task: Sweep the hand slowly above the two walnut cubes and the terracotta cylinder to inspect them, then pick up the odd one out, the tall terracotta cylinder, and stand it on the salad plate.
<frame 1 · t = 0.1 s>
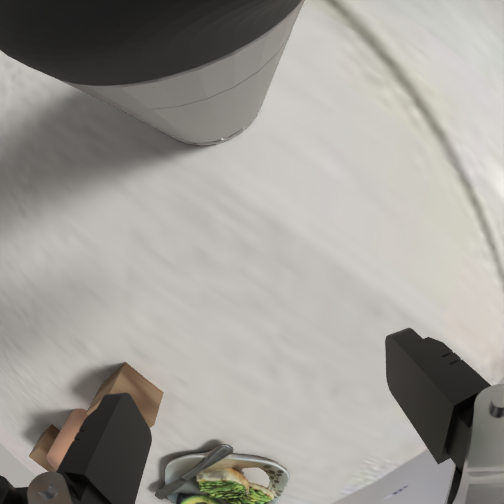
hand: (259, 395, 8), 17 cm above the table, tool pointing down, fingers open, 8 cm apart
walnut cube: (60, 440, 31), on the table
terracotta cylinder: (87, 423, 30), on the table
salad plate: (221, 482, 34), on the table
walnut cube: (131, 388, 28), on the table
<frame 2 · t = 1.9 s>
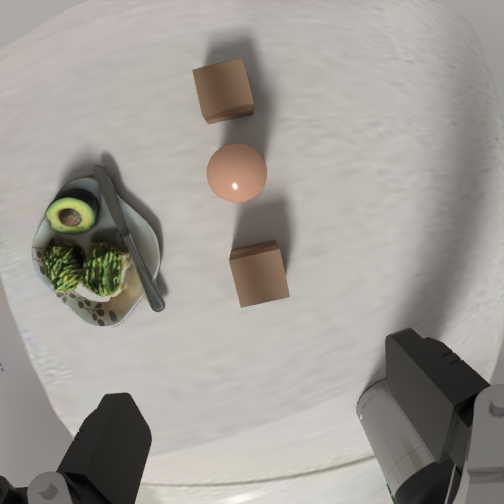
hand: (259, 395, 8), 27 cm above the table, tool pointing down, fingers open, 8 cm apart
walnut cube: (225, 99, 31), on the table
terracotta cylinder: (238, 175, 33), on the table
salad plate: (93, 248, 35), on the table
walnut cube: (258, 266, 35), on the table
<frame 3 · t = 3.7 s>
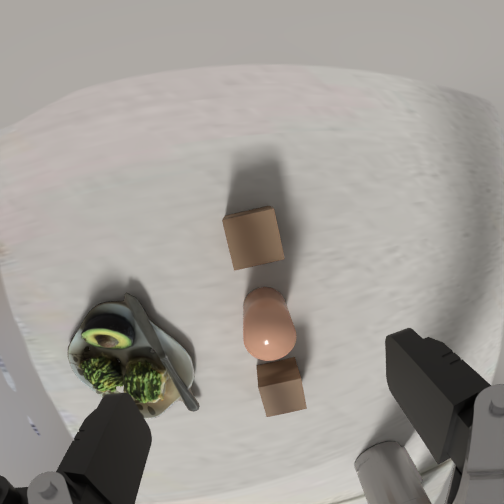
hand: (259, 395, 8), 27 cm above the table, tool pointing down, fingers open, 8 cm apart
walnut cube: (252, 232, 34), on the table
terracotta cylinder: (264, 307, 36), on the table
salad plate: (128, 357, 38), on the table
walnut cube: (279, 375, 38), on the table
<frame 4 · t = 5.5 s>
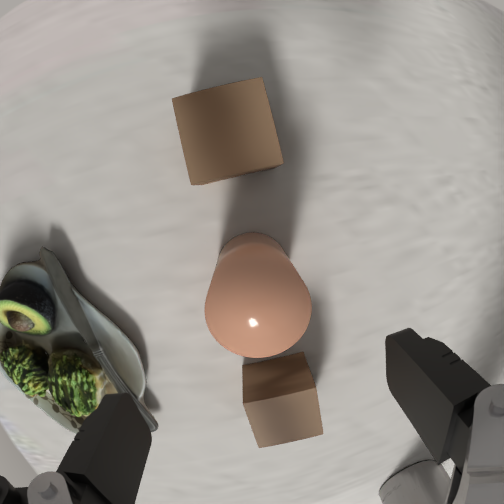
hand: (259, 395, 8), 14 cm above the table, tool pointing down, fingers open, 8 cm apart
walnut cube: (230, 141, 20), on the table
terracotta cylinder: (252, 267, 22), on the table
salad plate: (59, 348, 24), on the table
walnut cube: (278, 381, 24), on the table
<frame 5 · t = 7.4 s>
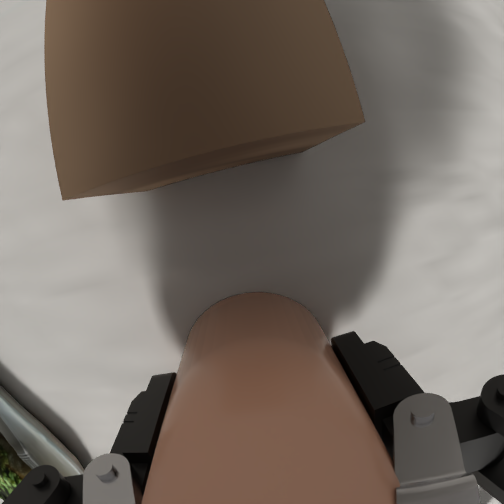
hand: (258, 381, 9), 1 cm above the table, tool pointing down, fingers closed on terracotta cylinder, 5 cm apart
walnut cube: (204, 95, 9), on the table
terracotta cylinder: (256, 358, 10), on the table, touching gripper
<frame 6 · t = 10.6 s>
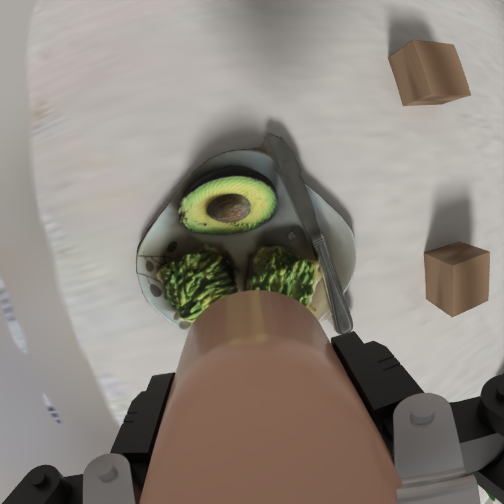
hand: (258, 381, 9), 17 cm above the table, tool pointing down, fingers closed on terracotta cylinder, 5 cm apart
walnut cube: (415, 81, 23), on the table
terracotta cylinder: (255, 356, 10), point 16 cm above the table, touching gripper
salad plate: (245, 254, 27), on the table
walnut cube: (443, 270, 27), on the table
when the fingers open (6 cm above the table, at t = 13.6 s): terracotta cylinder stays where it is, resting on salad plate.
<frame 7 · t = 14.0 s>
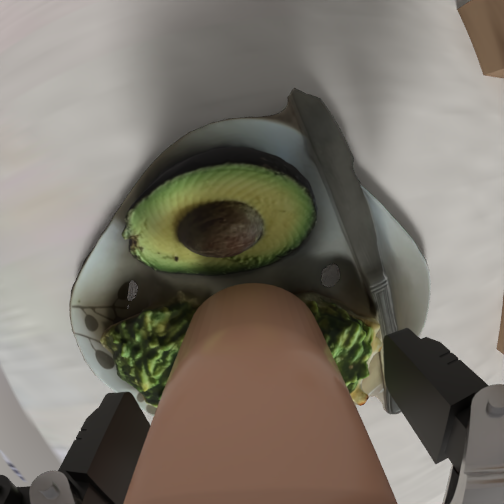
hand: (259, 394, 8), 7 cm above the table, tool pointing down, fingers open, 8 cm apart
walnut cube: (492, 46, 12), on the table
terracotta cylinder: (253, 346, 11), point 4 cm above the table, touching salad plate
salad plate: (250, 303, 16), on the table, touching terracotta cylinder
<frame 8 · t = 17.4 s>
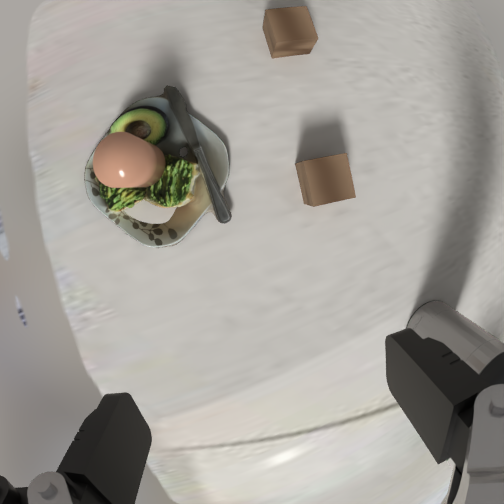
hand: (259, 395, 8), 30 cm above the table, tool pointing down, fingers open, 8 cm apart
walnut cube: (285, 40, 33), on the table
terracotta cylinder: (144, 165, 32), point 4 cm above the table, touching salad plate
salad plate: (154, 166, 36), on the table, touching terracotta cylinder
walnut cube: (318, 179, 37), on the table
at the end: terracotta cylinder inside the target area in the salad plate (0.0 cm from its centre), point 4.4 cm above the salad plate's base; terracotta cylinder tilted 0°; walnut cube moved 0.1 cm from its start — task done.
